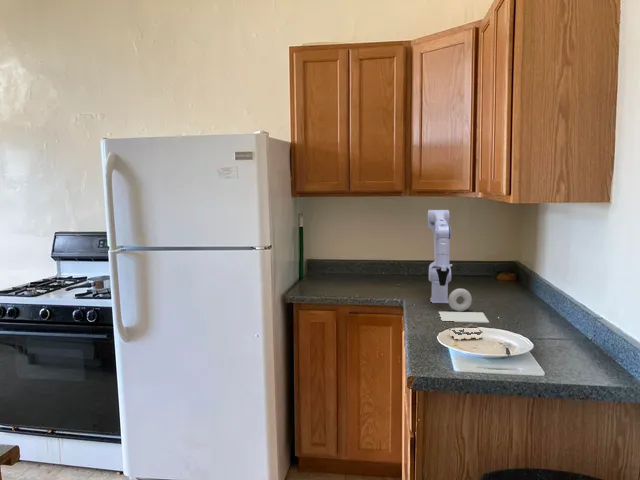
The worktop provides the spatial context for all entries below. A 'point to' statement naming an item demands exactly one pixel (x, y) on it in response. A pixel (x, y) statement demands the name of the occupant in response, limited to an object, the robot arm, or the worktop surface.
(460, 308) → the donut
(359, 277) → the worktop surface
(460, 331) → the egg carton
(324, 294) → the worktop surface
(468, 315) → the mat
